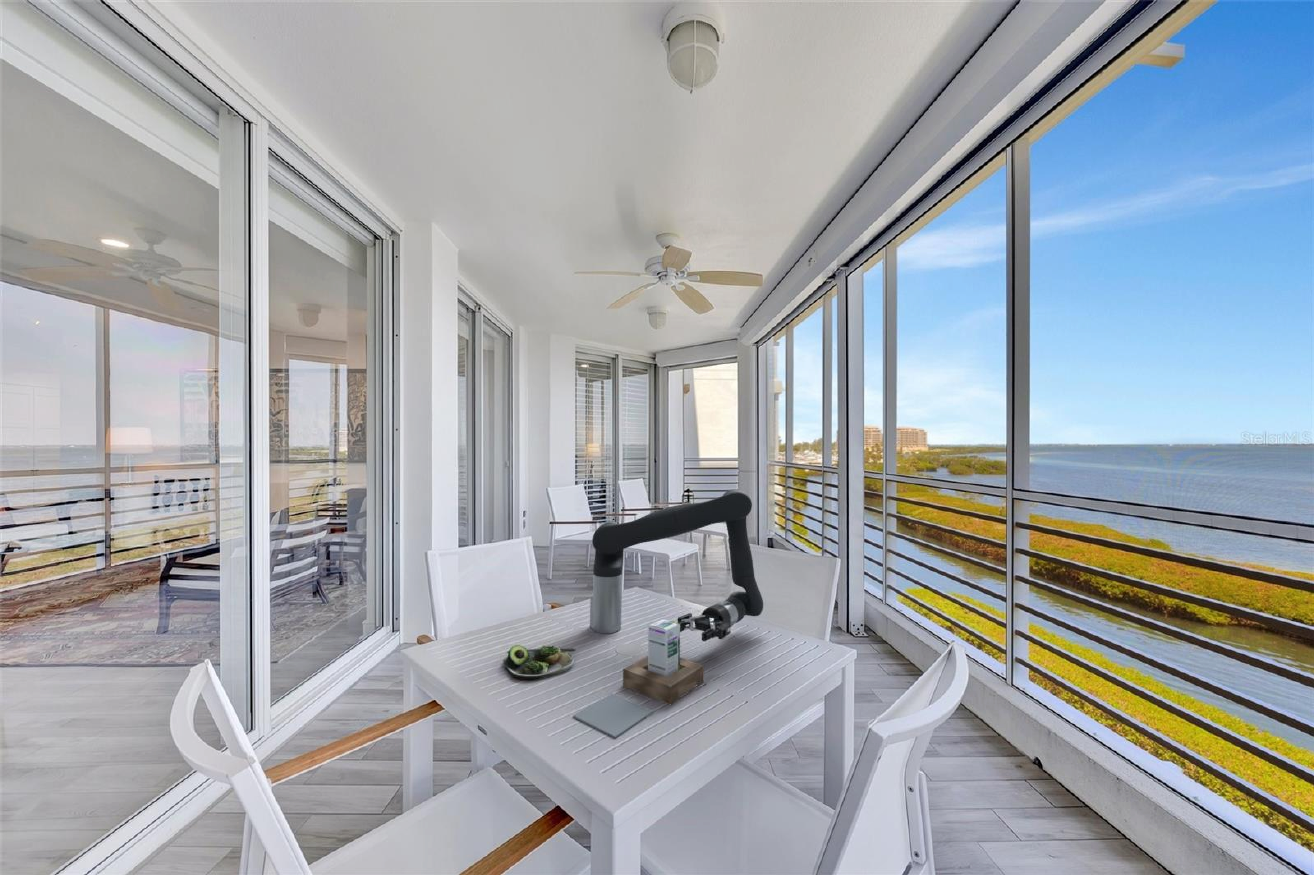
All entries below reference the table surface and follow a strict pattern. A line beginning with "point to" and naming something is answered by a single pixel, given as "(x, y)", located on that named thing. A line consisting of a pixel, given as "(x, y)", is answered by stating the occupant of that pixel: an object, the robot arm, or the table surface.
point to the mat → (613, 715)
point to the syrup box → (664, 647)
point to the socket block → (663, 680)
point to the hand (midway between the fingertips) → (689, 633)
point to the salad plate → (536, 661)
